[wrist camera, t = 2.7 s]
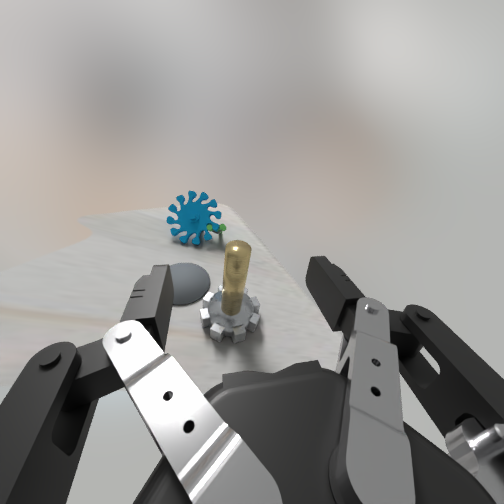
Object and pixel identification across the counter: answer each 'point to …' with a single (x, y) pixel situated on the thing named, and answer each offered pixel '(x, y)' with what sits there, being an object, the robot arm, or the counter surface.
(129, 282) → the counter surface
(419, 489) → the robot arm
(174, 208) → the blue splat disc
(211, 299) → the gear
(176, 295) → the pad
